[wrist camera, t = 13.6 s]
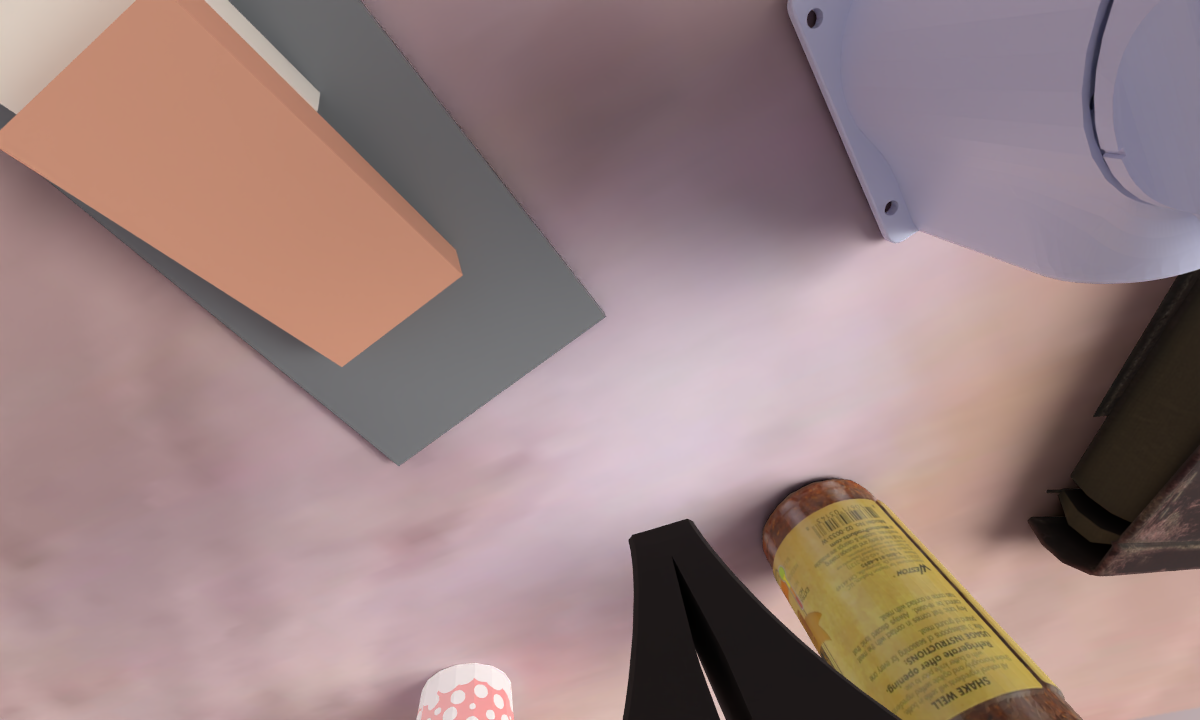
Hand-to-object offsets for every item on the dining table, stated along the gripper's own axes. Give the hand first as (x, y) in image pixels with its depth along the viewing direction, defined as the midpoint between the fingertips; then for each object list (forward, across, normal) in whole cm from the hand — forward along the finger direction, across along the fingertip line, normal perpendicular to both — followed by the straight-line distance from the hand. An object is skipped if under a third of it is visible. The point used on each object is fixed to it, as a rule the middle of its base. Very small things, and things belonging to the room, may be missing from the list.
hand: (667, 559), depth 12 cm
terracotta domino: (+9, +6, -4) cm, 12 cm away
